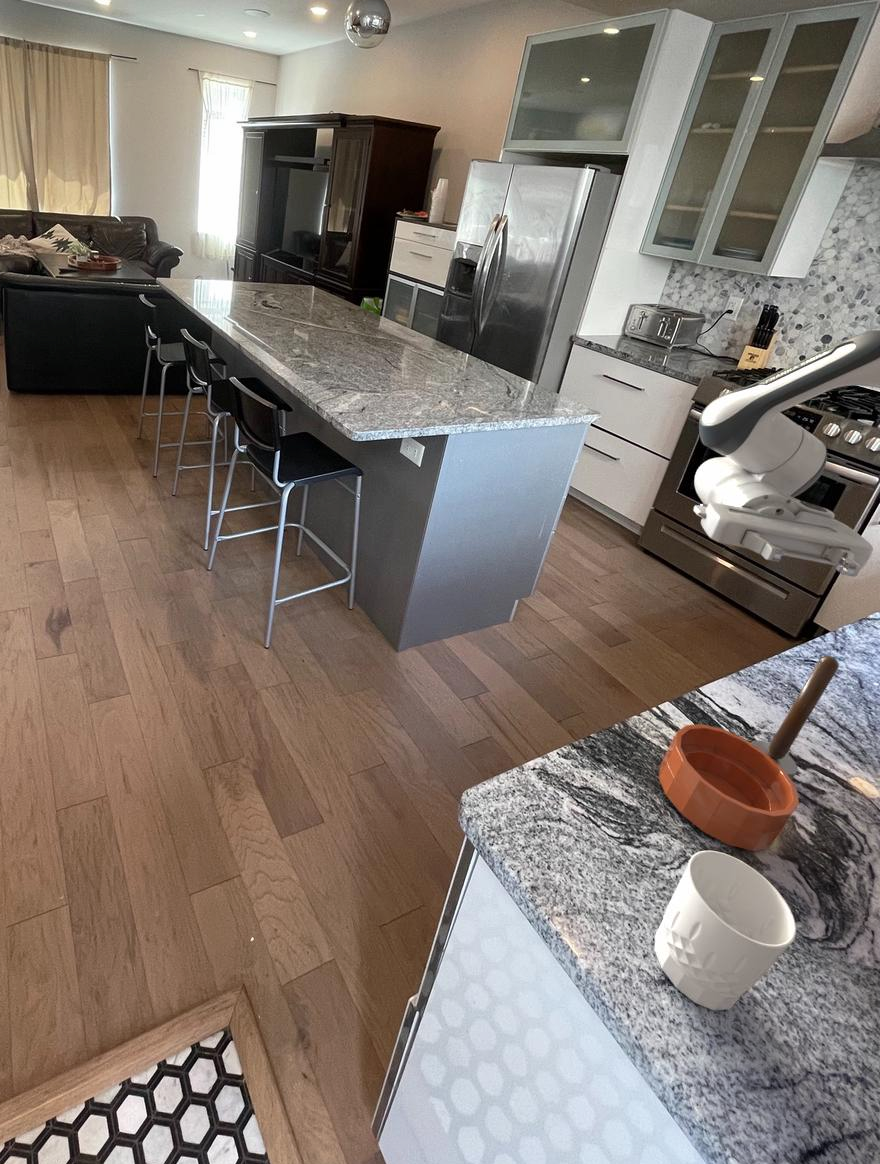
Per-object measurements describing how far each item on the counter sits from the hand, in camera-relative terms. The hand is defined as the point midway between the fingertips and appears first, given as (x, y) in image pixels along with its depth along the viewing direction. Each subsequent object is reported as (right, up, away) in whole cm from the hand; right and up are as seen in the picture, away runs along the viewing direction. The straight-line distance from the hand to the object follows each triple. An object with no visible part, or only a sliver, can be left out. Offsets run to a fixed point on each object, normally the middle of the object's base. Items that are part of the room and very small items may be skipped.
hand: (814, 563), depth 82 cm
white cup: (-31, -32, -25) cm, 52 cm away
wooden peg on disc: (-7, -26, -1) cm, 27 cm away
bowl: (-18, -27, -8) cm, 33 cm away
